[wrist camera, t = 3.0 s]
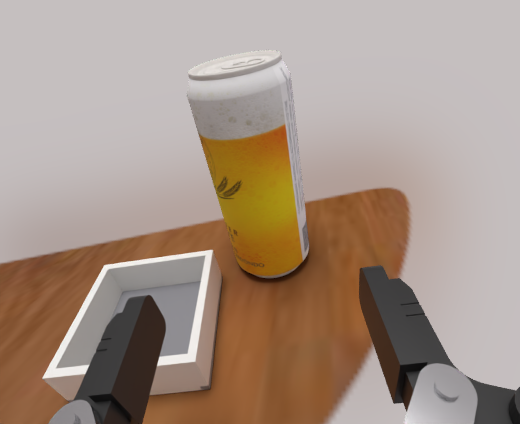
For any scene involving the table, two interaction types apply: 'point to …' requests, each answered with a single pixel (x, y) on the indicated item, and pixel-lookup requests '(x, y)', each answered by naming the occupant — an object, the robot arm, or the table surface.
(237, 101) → the beer can
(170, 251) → the table surface
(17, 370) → the table surface
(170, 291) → the white square tray
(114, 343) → the robot arm
